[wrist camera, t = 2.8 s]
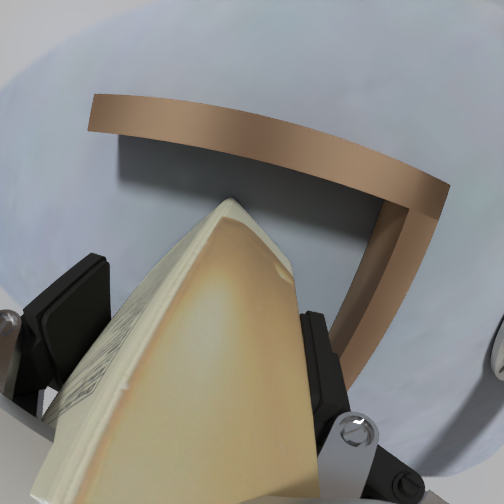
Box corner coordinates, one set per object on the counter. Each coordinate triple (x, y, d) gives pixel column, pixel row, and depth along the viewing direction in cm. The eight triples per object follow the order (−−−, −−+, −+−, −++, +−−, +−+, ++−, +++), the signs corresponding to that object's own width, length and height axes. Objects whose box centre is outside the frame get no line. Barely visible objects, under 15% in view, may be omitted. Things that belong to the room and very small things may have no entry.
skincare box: (204, 329, 15) (134, 553, 4) (144, 273, 14) (0, 482, 3) (299, 260, 13) (337, 575, 2) (235, 188, 12) (39, 525, 1)
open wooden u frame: (421, 175, 11) (450, 185, 9) (320, 390, 16) (324, 421, 14) (124, 98, 11) (94, 94, 8) (109, 337, 16) (92, 363, 14)
